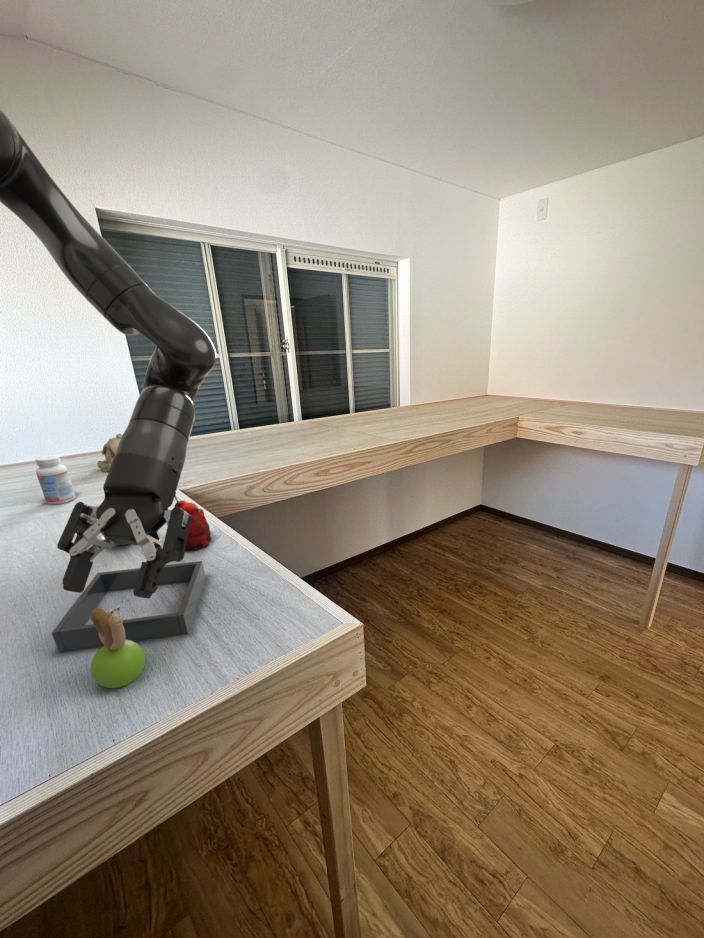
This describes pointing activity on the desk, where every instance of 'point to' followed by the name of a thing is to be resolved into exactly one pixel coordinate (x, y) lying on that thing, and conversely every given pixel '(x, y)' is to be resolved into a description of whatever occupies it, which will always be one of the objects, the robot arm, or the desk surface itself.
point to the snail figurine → (115, 651)
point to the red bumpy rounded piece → (195, 526)
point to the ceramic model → (109, 452)
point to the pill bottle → (54, 480)
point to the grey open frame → (82, 636)
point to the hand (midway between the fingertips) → (106, 594)
